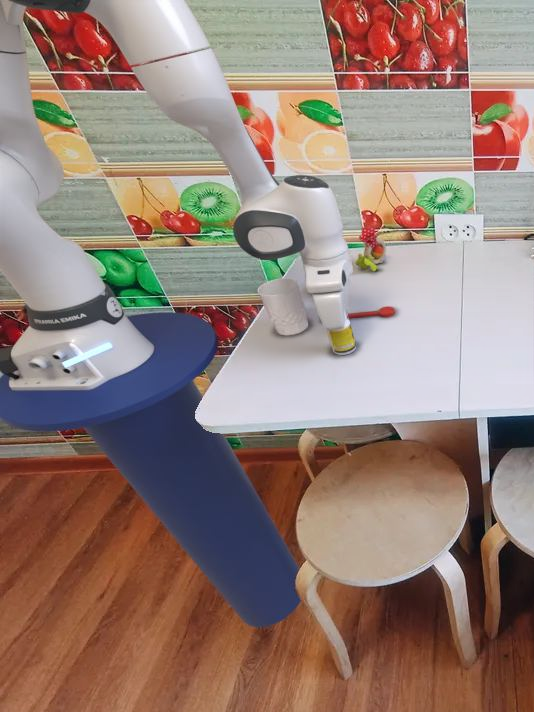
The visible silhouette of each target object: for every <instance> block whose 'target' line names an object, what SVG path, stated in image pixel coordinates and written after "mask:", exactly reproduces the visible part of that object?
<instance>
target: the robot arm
mask: <svg viewBox="0 0 534 712" xmlns="http://www.w3.org/2000/svg"><path fill="white" fill-rule="evenodd" d="M27 8H29V9H36V10H41V11H53V12H61V13H70V14H75V15H76V14H79V15H80V14H83V13H86V14H87V15H89V16H91V17H92V18H94V19H95V20H97V21H98V22H99V23H100V24H101V26H103V27H104V29H106V31H107V32H108V34H109V35H110V37H112V39H113V40H114V42H115V44H116V45H117V47H118V48H119V51H121V53H122V56H123V57H124V59H125V60H126V63H127V64H128V65H129V67H130V69H131V70H132V72H133V74H134V75H135V77H136V79H137V80H138V82H139V83H140V85H141V86H142V88H143V90H144V91H145V92H146V93H147V95H148V96H149V97H150V99H151V100H152V102H154V104H155V105H156V106H157V107H158V108H159V110H160V111H161V112H162V113H163V115H164V116H166V117H167V118H168V119H170V120H171V121H173V122H175V123H177V124H178V125H181V126H184V127H186V128H189V129H191V130H192V131H195V132H197V133H198V134H199V135H201V136H202V137H204V139H206V140H207V141H208V142H209V143H210V144H211V146H212V147H213V148H214V150H215V151H216V152H217V155H218V156H219V158H220V160H221V161H222V162H223V164H224V166H225V168H226V169H227V171H228V172H229V174H230V176H231V177H232V179H233V181H234V182H235V184H236V185H237V187H238V189H239V192H240V197H241V207H240V209H239V210H238V212H237V214H236V217H235V219H234V222H233V226H232V233H233V237H234V240H235V242H236V243H237V245H238V246H239V248H241V249H242V250H243V251H244V252H245V253H246V254H248V255H249V256H251V257H252V258H253V257H254V258H255V259H259V260H261V261H262V260H263V261H273V260H278V259H282V258H286V257H290V256H293V255H296V254H298V253H299V254H300V258H301V262H302V267H303V269H304V274H305V275H304V276H305V288H306V291H307V293H308V294H312V299H313V300H312V301H313V303H314V307H315V309H316V311H317V314H318V317H319V319H320V322H321V324H322V326H323V328H324V329H325V330H326V329H327V330H336V329H343V328H344V327H345V316H344V312H345V313H346V316H347V319H348V320H349V321H350V318H348V314H349V312H348V306H349V298H350V291H351V285H352V284H351V283H352V282H351V276H350V275H351V274H352V273H353V271H354V266H353V262H352V258H351V254H350V250H349V245H348V243H347V241H346V239H345V237H344V232H343V231H344V225H343V219H342V215H341V212H340V209H339V206H338V203H337V202H338V201H337V199H336V196H335V194H334V192H333V189H332V188H331V187H330V185H329V184H328V183H327V182H326V181H324V180H323V179H321V178H318V177H317V176H312V175H306V174H305V175H304V174H296V175H290V176H286V177H285V178H283V180H282V181H281V183H280V182H279V181H277V179H276V178H275V177H274V176H273V174H272V172H271V171H270V169H269V167H268V165H267V164H266V162H265V160H264V159H263V157H262V154H261V153H260V151H259V149H258V147H257V146H256V143H255V142H254V140H253V138H252V136H251V134H250V133H249V131H248V129H247V128H246V126H245V124H244V121H243V119H242V117H241V114H240V112H239V110H238V107H237V104H236V102H235V100H234V97H233V94H232V91H231V89H230V86H229V84H228V81H227V79H226V77H225V74H224V73H223V70H222V67H221V65H220V63H219V60H218V58H217V56H216V54H215V52H214V50H213V49H212V47H211V44H210V42H209V40H208V38H207V36H206V34H205V32H204V31H203V29H202V27H201V25H200V24H199V22H198V20H197V18H196V17H195V15H194V13H193V12H192V10H191V9H190V7H189V5H188V3H187V1H186V0H0V272H1V273H0V274H2V275H3V276H4V278H5V279H6V280H7V281H8V282H9V284H10V285H11V286H12V288H13V289H14V290H15V291H16V293H17V295H18V296H19V297H20V298H21V299H22V300H23V302H24V303H25V304H24V305H23V306H22V307H21V310H19V311H18V312H17V313H16V314H14V317H18V319H17V321H22V320H23V319H24V318H25V317H27V320H28V325H29V326H28V327H26V329H25V330H24V332H23V333H22V335H21V336H20V337H19V338H18V339H17V341H16V342H15V344H14V345H13V346H9V347H3V348H0V372H1V374H2V375H3V374H5V375H7V376H9V377H11V378H10V380H9V386H10V388H11V389H12V390H13V391H47V390H91V389H94V388H96V387H98V386H100V385H101V384H103V383H105V382H106V381H108V380H110V379H113V378H115V377H118V376H120V375H123V374H125V373H127V372H129V371H131V370H133V369H135V368H137V367H138V366H140V365H141V364H143V363H144V362H145V361H147V360H148V359H149V358H150V356H151V355H152V354H153V352H154V345H153V344H152V343H151V342H150V341H149V340H147V339H146V338H145V337H144V336H143V335H142V334H141V333H140V332H139V331H138V330H137V329H136V328H135V326H134V325H133V324H132V323H131V322H130V320H129V319H128V318H127V315H126V314H125V312H124V310H123V306H122V305H121V303H120V301H119V300H118V298H117V296H116V294H115V293H114V292H113V290H112V288H111V287H110V286H109V284H107V283H106V282H104V281H103V280H102V277H101V276H100V275H99V273H98V271H97V270H96V267H95V266H94V265H93V263H92V261H91V260H90V259H89V256H88V255H87V253H86V252H85V250H84V249H83V247H82V246H81V245H80V244H79V243H77V242H76V241H75V240H72V239H69V238H66V237H62V236H61V235H60V234H58V233H57V231H55V230H54V229H53V228H52V227H51V226H49V224H48V223H47V222H45V220H44V219H43V218H42V216H41V215H40V213H39V211H38V208H39V207H42V205H45V204H46V203H48V202H49V201H51V200H52V199H53V198H54V197H55V195H56V194H57V192H58V191H59V189H60V188H61V185H62V184H63V181H64V178H65V171H64V170H65V169H64V166H63V164H62V162H61V161H60V158H59V157H58V155H57V154H56V153H55V152H54V151H53V150H52V149H51V148H50V147H49V146H48V145H47V142H46V140H45V138H44V135H43V133H42V130H41V127H40V125H39V121H38V118H37V116H36V111H35V108H34V103H33V95H32V88H31V87H32V85H31V80H30V79H31V78H30V73H29V72H30V69H29V63H28V62H29V61H28V53H27V47H26V37H25V32H24V31H25V30H24V15H25V12H26V9H27ZM327 330H326V331H327ZM14 371H15V372H14ZM11 372H14V373H11Z"/></svg>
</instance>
